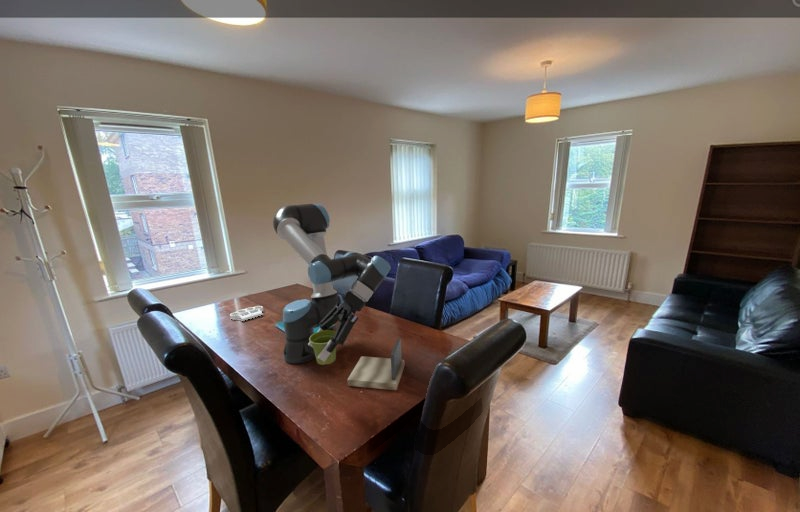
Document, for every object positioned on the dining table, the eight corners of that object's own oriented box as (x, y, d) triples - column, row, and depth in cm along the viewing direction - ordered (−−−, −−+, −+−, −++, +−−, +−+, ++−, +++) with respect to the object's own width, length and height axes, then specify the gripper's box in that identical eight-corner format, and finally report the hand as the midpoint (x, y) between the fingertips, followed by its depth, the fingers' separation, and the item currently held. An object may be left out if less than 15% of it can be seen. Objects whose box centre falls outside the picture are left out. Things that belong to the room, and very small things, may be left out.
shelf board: (347, 385, 112) (347, 379, 111) (361, 361, 127) (361, 356, 127) (396, 390, 108) (396, 383, 108) (404, 365, 124) (404, 359, 123)
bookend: (391, 380, 110) (390, 354, 108) (398, 361, 122) (397, 338, 120) (395, 380, 110) (393, 354, 108) (401, 362, 121) (400, 338, 119)
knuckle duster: (236, 325, 169) (227, 318, 179) (269, 315, 181) (259, 309, 191) (235, 319, 168) (226, 312, 178) (268, 309, 180) (258, 303, 191)
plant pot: (326, 371, 97) (323, 346, 95) (305, 363, 102) (302, 339, 100) (346, 357, 105) (344, 333, 103) (326, 350, 110) (324, 327, 108)
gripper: (380, 312, 98) (336, 373, 94) (351, 293, 117) (314, 344, 112) (364, 300, 94) (317, 363, 90) (337, 282, 113) (297, 334, 108)
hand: (315, 352), depth 101 cm, fingers closed on plant pot, 9 cm apart
